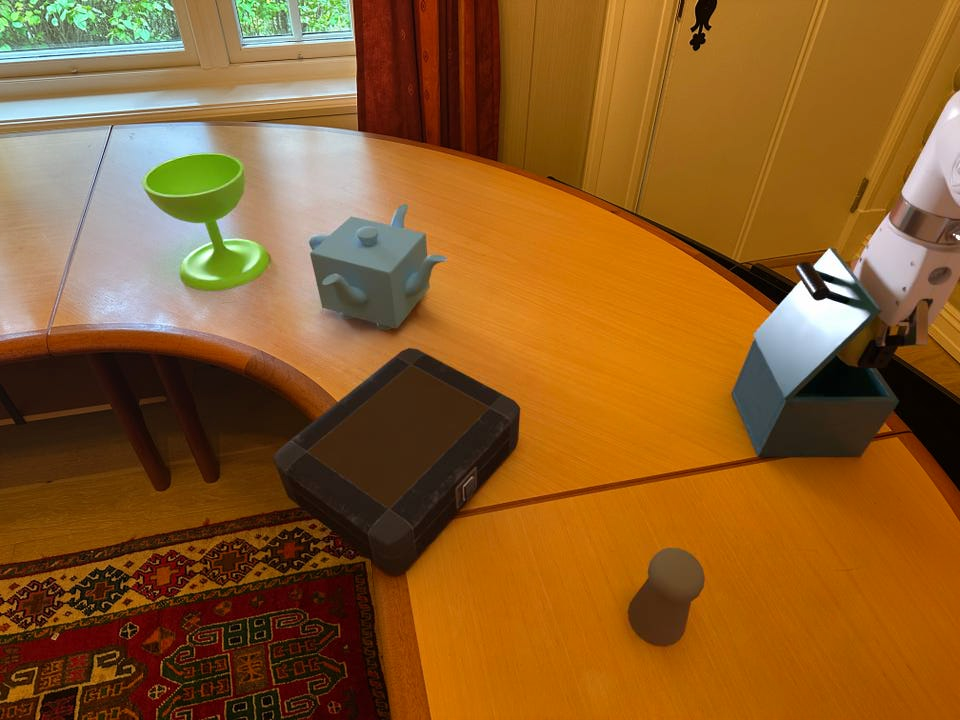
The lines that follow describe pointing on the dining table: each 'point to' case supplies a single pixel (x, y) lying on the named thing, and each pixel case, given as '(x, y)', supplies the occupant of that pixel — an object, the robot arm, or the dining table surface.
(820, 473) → the dining table surface
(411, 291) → the teakettle
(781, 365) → the box lid
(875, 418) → the teal box
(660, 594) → the cork
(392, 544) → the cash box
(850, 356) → the lemon
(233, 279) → the wineglass
